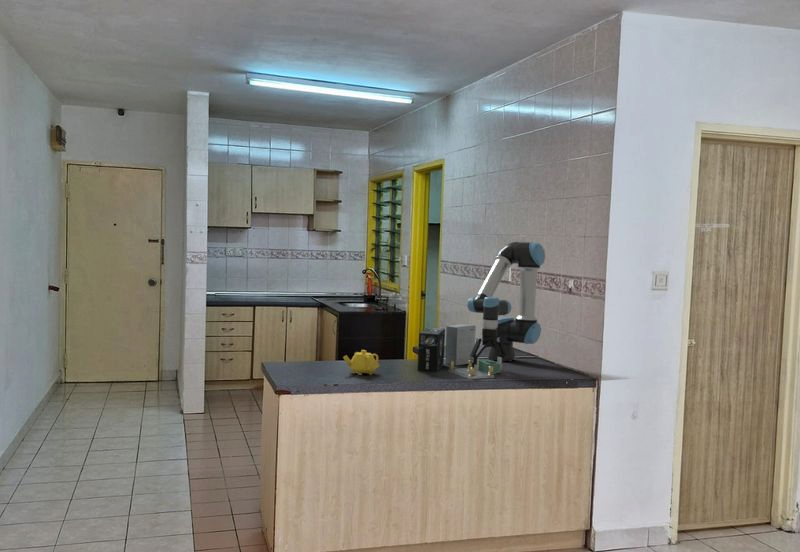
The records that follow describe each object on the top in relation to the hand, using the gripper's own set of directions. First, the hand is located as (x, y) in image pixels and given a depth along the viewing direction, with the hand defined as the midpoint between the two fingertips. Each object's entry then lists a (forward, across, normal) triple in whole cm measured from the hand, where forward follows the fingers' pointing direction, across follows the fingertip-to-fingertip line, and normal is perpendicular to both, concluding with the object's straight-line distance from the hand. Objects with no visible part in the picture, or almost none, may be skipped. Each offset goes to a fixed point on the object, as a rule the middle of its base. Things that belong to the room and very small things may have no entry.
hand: (487, 370), depth 362 cm
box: (+1, +24, -15) cm, 28 cm away
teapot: (+1, +65, -10) cm, 66 cm away
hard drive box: (0, +2, -23) cm, 23 cm away
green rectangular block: (0, 0, 0) cm, 1 cm away
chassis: (0, +14, +6) cm, 15 cm away
